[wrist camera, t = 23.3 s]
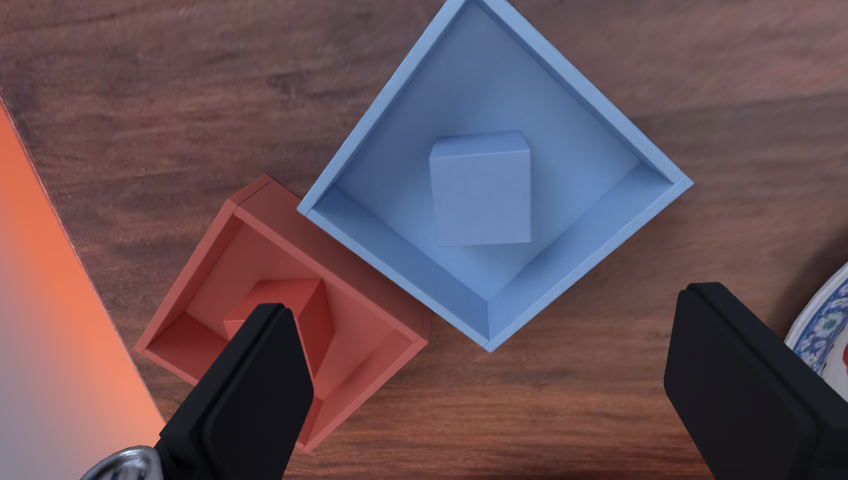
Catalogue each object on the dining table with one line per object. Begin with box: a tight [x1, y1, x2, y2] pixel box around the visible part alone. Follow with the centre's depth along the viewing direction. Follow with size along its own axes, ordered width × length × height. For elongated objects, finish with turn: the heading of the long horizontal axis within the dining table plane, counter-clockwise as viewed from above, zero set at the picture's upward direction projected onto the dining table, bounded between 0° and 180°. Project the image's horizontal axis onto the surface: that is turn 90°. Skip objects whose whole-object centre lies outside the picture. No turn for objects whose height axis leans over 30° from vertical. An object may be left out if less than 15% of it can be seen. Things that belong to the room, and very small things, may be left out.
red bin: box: [134, 174, 433, 454], centre depth 27 cm, size 13×13×4 cm
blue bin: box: [296, 0, 694, 353], centre depth 22 cm, size 13×13×4 cm
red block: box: [223, 278, 335, 380], centre depth 27 cm, size 4×4×4 cm
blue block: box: [429, 130, 531, 247], centre depth 22 cm, size 4×4×4 cm
